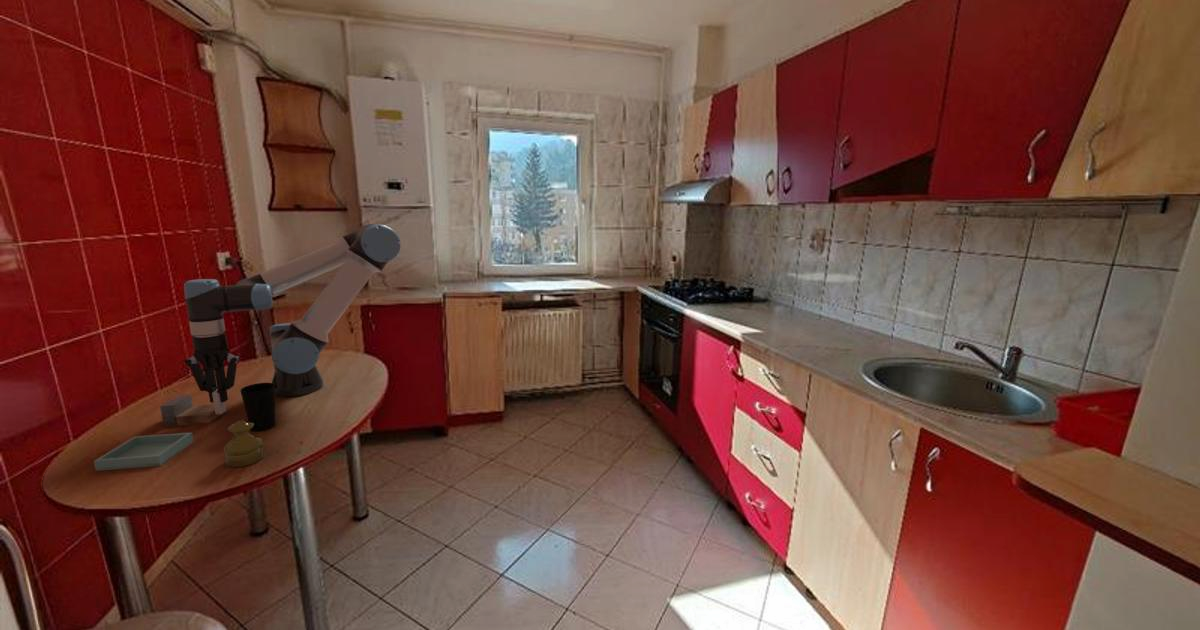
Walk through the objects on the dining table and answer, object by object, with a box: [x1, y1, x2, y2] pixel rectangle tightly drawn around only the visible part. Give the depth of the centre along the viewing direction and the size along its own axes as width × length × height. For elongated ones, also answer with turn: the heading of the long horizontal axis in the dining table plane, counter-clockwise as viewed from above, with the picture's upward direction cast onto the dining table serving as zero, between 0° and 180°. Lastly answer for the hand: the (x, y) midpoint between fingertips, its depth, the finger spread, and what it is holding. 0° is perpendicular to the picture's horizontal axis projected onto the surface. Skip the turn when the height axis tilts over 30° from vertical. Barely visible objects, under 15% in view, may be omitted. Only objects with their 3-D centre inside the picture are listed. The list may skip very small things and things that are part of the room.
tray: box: [93, 432, 194, 472], centre depth 114 cm, size 13×13×2 cm
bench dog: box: [160, 394, 194, 427], centre depth 133 cm, size 3×8×6 cm, turn 13°
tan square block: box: [176, 404, 225, 426], centre depth 135 cm, size 8×8×3 cm
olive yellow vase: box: [223, 419, 265, 468], centre depth 112 cm, size 7×7×10 cm
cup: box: [240, 382, 276, 433], centre depth 129 cm, size 8×8×12 cm
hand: (220, 412), depth 136 cm, fingers closed
